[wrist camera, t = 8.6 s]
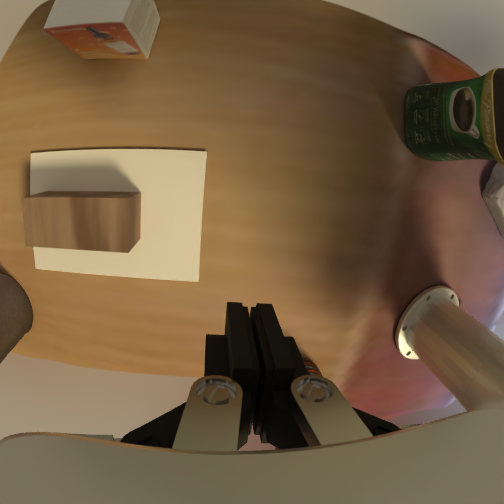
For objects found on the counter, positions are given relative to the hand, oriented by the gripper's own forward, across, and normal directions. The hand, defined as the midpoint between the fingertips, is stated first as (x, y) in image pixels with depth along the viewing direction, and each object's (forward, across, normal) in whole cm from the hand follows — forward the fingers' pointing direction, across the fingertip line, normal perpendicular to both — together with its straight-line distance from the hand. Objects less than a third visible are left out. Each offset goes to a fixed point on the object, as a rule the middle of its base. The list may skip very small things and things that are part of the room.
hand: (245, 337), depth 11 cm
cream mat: (+22, +13, 0) cm, 25 cm away
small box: (+22, +14, -20) cm, 33 cm away
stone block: (+23, -44, -9) cm, 50 cm away
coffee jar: (+22, -23, -15) cm, 36 cm away
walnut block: (+19, +9, 0) cm, 21 cm away
